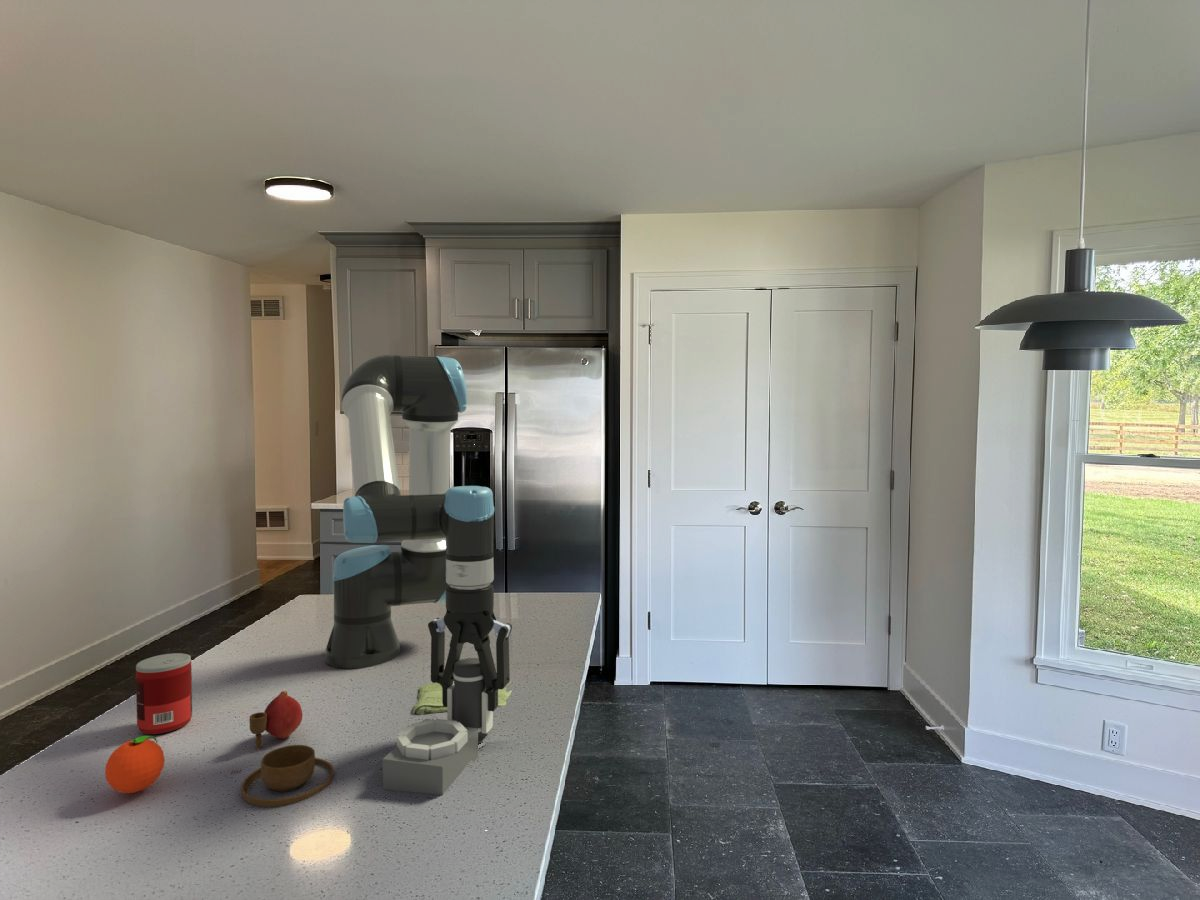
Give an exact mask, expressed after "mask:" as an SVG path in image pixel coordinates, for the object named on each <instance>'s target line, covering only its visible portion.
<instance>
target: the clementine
mask: <svg viewBox="0 0 1200 900" xmlns="http://www.w3.org/2000/svg"><path fill="white" fill-rule="evenodd" d="M148 738H152V739H153V740H151V739H148ZM164 755H165V754H164V750H163V748H162V747H161V745H159V744H158V741H157V738H156V736H154V735H142V736H137V737H136V738H134V739H130V740H128V741H126V742H124V743H122V744H121V745H119V746H118V747H117V748H116V749H114V751H113V752H112V753H111V755H109V757H108V759H107V761H106V764H105V770H104V775H105V780H106V782H107V783H108V785H109V787H110V788H112V789H113V790H114V791H116V792H119V793H122V794H123V793H124V794H133V793H137V792H140V791H143V790H146V789H147V788H149V786H151V785H152V784H154V783H155V782H156V781H157V779H158V778H159V777H160V775H161V773H162V771H163V768H164V766H165V756H164Z"/></svg>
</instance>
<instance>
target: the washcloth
mask: <svg viewBox="0 0 1200 900" xmlns="http://www.w3.org/2000/svg"><path fill="white" fill-rule="evenodd" d="M453 684H454V681H453ZM509 684H512V682H511V681H510V682H509V683H508V684H507V685H506V686H509ZM512 691H513V690H509V691H507V687H504V688H503V689H498V706H497V708H498V707H503V706H506V705H507V699H508V698H509V696H510V695H511V694H512ZM417 699H418V701H417V702H416V703H415V705H414V706H413V710H412V715H414V714H416V715H420V716H422V715H426V714H439V713H447V706H443V703H442V700H443V699H442V686H441V685H440V684H439V683H437V682H436V683H433V682H432V681H431V682H429V683H425V684H423V685H422V686H421V685H420V687H419V689H418V696H417Z"/></svg>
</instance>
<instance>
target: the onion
mask: <svg viewBox="0 0 1200 900" xmlns="http://www.w3.org/2000/svg"><path fill="white" fill-rule="evenodd" d="M263 712H264V713H266V714H267V726H266V730H265V731H266V733H267V734H269V735H271V736H272V737H275V738H277V739H279V740H285V739H287V738H289V736H291V735H292V734H293V733H294V732H296V730H297V729H298V728H299V726H300V725H301V723H302V721H303V711H302V707H301V704H300V702H298V700H296V699H295V698H294V697H293V696H290V695H288V691H287V690H286V689H284V690H281V692H280V693H278V695H277V696H276V697H274V698H273V699H272V700H271V701H270V702H269V703H268V704H267V706H266V707H265V709H264V711H263Z"/></svg>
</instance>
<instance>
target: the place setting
mask: <svg viewBox="0 0 1200 900" xmlns="http://www.w3.org/2000/svg"><path fill="white" fill-rule="evenodd" d="M266 726H267V714H266V713H264V711H263V712H262V711H261V712H256V713H252V714H250V715H249V730H250V733H252V734H253V735H255V740H254V745H255V748H254V749H255V750H261V749H262V748H263V747H262V744H263V739H262V735H263V734H262V733H264V732H265V731H266ZM315 765H319V766H322V767H324V768H327V769H328V771H329V773H330V775H329V776H328V778H327V779H326V780H325V781H324V782H323V783H321V784H319V786H316V787H315V788H313V789H311V790H309V791H305V792H304V793H300V794H297V795H294V796H289V797H285V798H279V799H278V798H275V799H265V798H264V799H263V798H257V797H254V796H251V795H249V794H248V792H249V789H250V788H251V786H252V785H253V784H254V783H255V782H256V781H257V779H258V780H259V779H262V782H263V784H264V785H265V786H266V787H267V788H269V789H272V790H274V791H276V792H288V791H292V790H295V789H297V788H299V787H301V786H302V785H303V784H305V783H306V782H308V781H309V779H310V778H311V777H312V776H313V773H314V772H315V767H316V766H315ZM334 769H335V768H334V766H333V765H332V763H330V762H329V761H327V760H326V759H324V758H319V757H316V751H315V750H314V748H313V747H311V746H310V745H309V746H308V745H305V744H292V745H291V744H290V745H286V746H281V747H278V748H274V749H273V750H271V751H269V752H268V753H266V754H265V755H264V756H263V757H262V758H261V760H260V767H259V768H258V769H256V770H254V771H252V772H251V773H250V774H249V775H248V776H246V777H245V778H244V780H243V781H242V783H241V785H240V786H241V787H240V790H241V795H242V798H243V799H244V800H245V801H246V803H248V804H250V805H251V806H252V805H253V806H256V807H261V808H275V807H276V808H277V807H283V806H284V807H285V806H288V805H293V804H296V803H298V802H302V801H305V800H307V799H309V798H312V797H313V796H315V795H317V794H319V793H320V792H322V791H323V790H325V788H327V787H328V786H329V784H331V782H332V780H333V778H334V774H335V773H334V772H335V771H334ZM241 772H242V769H240V770H239V769H235V770H234V769H232V771H231V773H230V775H232V774H233V775H235V774H238V773H239V774H240V773H241ZM254 781H255V782H254ZM253 782H254V783H253ZM251 784H252V785H251Z"/></svg>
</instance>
